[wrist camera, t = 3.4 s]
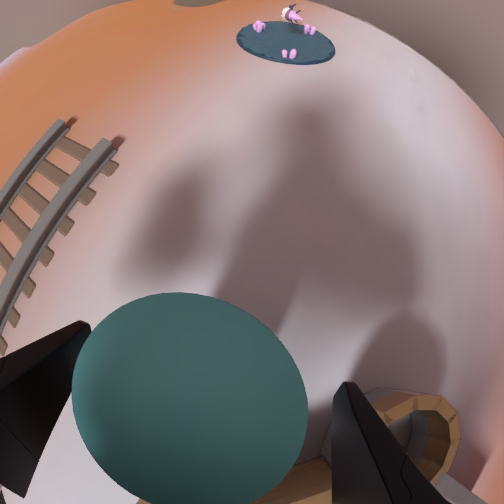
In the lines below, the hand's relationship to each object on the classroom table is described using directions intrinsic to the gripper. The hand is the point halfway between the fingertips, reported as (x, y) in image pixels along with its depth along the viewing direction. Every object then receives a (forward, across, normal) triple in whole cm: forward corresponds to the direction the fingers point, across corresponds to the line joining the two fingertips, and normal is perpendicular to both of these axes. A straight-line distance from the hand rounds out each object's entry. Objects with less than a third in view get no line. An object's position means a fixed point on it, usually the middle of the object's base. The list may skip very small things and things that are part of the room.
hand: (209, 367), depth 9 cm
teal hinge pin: (+5, 0, +6) cm, 7 cm away
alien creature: (+30, +1, -18) cm, 35 cm away
